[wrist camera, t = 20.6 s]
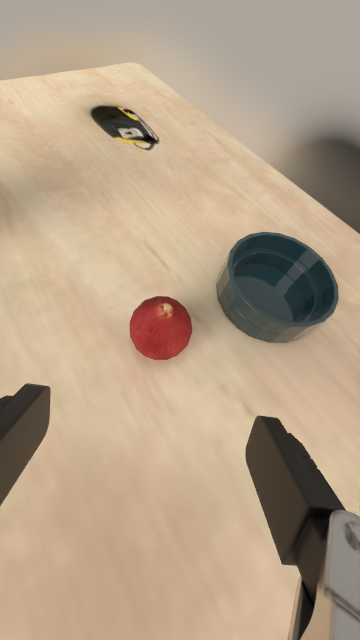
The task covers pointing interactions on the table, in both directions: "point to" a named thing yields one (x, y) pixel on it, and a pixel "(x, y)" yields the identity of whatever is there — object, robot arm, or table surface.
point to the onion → (160, 328)
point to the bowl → (276, 287)
